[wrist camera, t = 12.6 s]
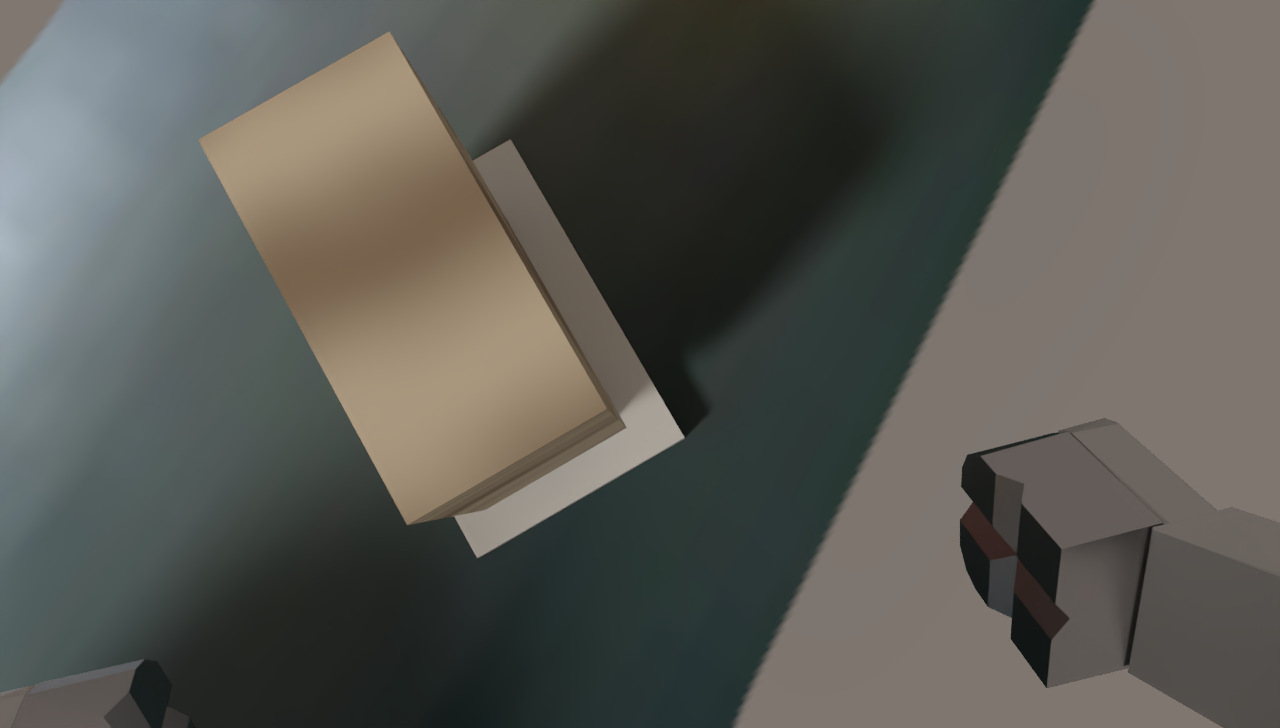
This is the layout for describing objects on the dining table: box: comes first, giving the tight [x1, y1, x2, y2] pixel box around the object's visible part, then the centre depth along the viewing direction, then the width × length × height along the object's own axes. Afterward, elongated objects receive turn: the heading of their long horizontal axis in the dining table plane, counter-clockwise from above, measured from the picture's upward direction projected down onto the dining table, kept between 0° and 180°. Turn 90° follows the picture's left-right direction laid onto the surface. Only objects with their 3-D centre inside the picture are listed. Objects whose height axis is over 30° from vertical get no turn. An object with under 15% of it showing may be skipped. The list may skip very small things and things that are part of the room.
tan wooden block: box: [198, 31, 627, 525], centre depth 27 cm, size 10×5×9 cm, turn 30°
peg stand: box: [454, 139, 684, 558], centre depth 33 cm, size 12×8×4 cm, turn 30°
